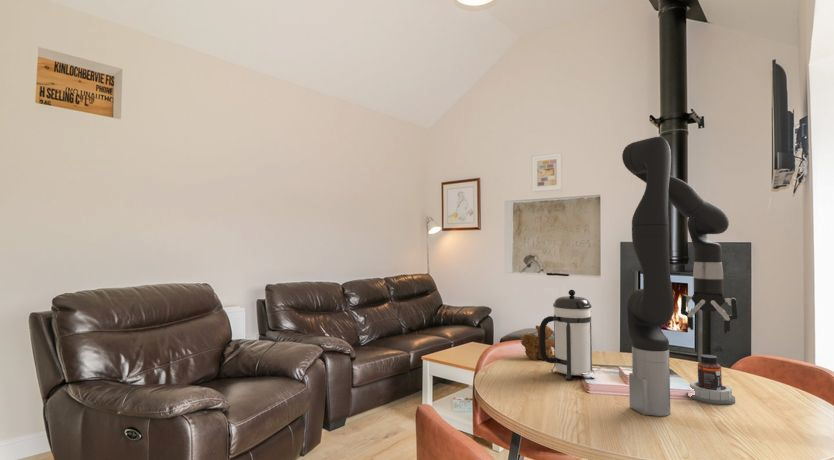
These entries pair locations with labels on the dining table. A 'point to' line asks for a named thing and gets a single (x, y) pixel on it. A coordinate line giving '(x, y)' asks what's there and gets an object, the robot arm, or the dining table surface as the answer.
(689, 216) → the robot arm
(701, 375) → the supplement bottle
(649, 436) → the dining table surface
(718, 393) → the bottle socket
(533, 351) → the stuffed squirrel
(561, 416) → the dining table surface
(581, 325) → the coffee press
